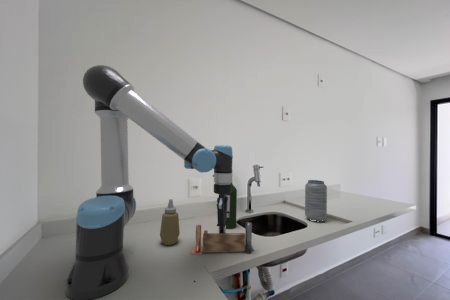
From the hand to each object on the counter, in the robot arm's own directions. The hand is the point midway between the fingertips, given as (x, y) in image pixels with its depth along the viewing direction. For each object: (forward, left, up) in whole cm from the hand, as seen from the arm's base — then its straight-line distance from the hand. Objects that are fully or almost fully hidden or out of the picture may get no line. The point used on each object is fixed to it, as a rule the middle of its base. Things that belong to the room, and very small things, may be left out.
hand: (222, 241), depth 79 cm
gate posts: (-3, 0, -2) cm, 3 cm away
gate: (-4, -1, -1) cm, 5 cm away
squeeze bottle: (+4, +22, -2) cm, 22 cm away
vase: (+34, -56, -2) cm, 66 cm away
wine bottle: (+23, -4, -2) cm, 23 cm away
